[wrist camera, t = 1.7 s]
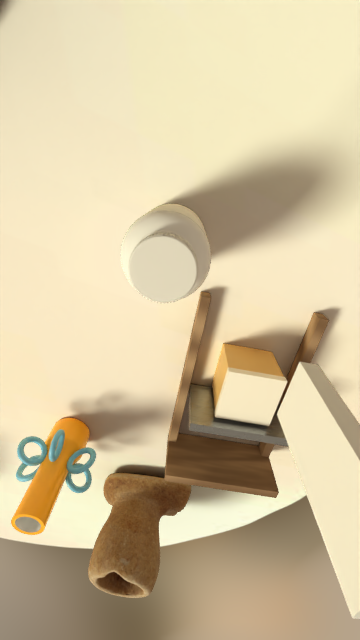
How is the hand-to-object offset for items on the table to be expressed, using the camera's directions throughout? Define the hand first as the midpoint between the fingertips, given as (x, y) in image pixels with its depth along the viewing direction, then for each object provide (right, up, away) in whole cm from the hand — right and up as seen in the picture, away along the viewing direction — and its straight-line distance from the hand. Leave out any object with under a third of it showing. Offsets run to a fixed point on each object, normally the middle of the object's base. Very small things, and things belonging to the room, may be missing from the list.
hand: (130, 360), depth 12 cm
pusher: (+10, -10, +33) cm, 36 cm away
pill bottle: (+1, +12, +24) cm, 27 cm away
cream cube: (+11, -5, +32) cm, 34 cm away
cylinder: (-16, -17, +38) cm, 44 cm away
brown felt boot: (-4, -30, +44) cm, 53 cm away
